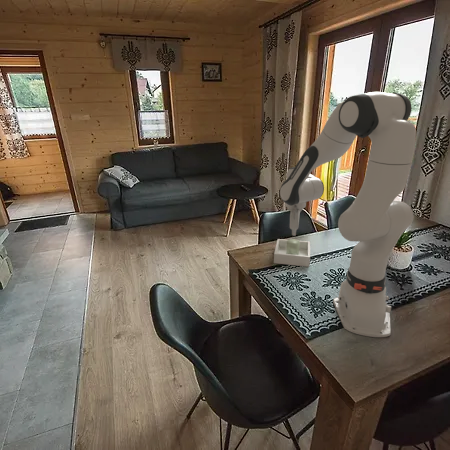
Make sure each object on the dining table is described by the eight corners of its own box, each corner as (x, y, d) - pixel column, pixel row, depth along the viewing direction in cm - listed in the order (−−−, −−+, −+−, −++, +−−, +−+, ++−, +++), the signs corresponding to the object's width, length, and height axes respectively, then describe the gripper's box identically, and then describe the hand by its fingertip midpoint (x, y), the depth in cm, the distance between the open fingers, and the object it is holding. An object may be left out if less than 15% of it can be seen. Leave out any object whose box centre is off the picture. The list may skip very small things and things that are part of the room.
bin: (309, 266, 130) (310, 257, 128) (273, 263, 134) (274, 253, 132) (309, 250, 144) (310, 241, 143) (277, 247, 149) (277, 238, 147)
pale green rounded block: (298, 258, 136) (299, 245, 133) (285, 257, 137) (286, 244, 134) (299, 252, 141) (300, 239, 138) (286, 251, 142) (287, 238, 140)
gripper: (302, 210, 118) (300, 240, 124) (303, 196, 137) (301, 223, 142) (286, 209, 120) (285, 239, 125) (289, 196, 138) (288, 222, 143)
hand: (294, 230), depth 134 cm, fingers open, 8 cm apart
